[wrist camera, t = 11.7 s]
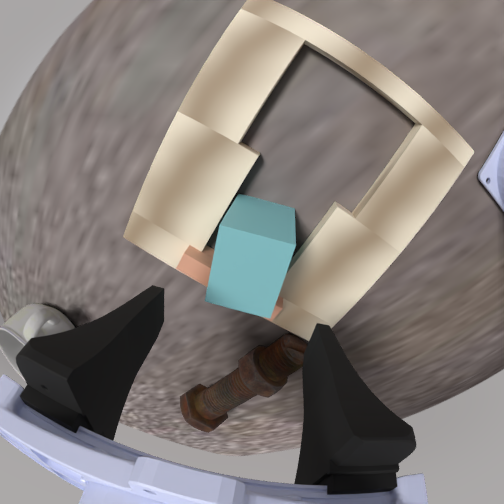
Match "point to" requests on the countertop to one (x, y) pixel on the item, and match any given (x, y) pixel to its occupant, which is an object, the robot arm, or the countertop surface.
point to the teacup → (30, 329)
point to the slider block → (252, 255)
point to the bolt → (244, 382)
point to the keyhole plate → (243, 157)
